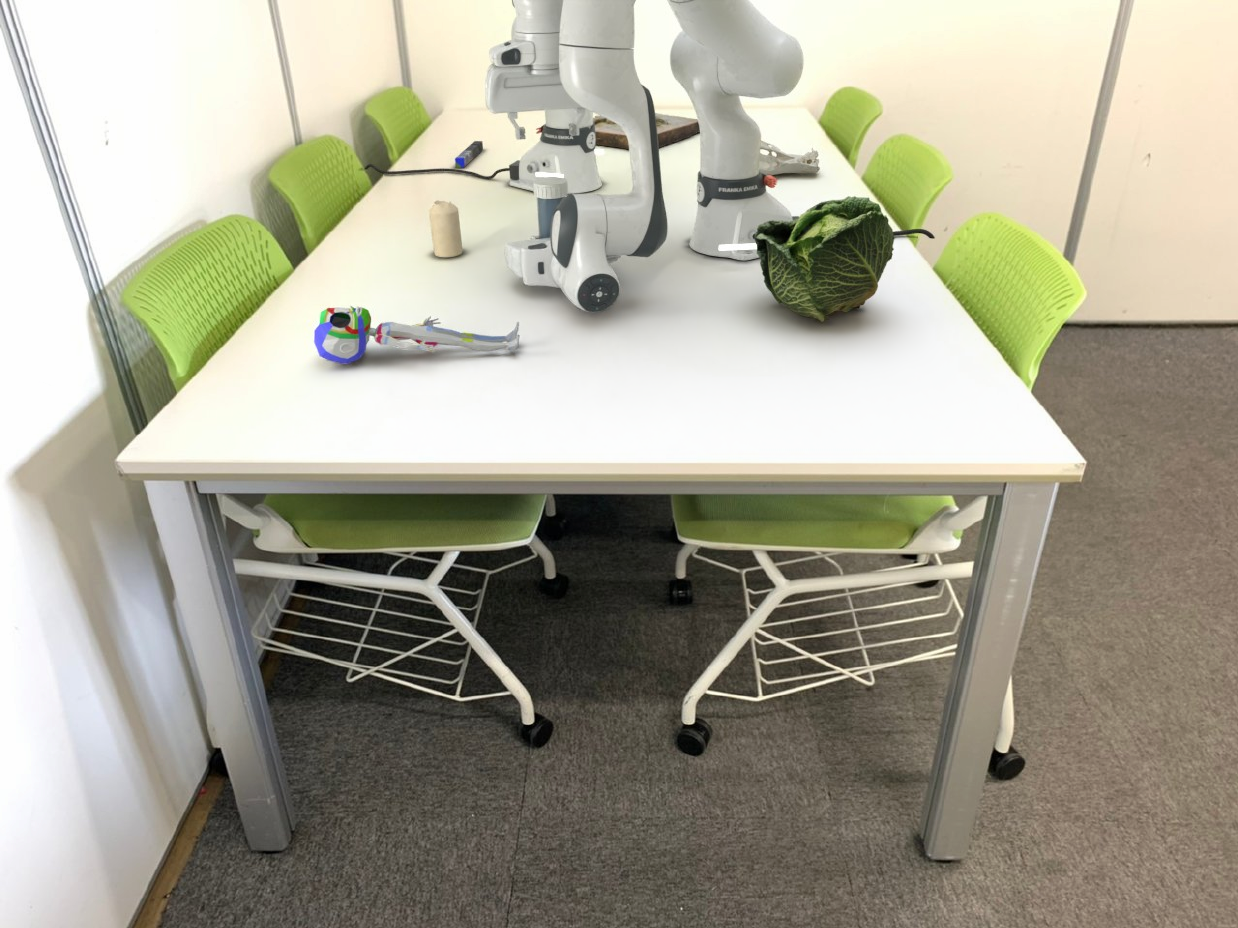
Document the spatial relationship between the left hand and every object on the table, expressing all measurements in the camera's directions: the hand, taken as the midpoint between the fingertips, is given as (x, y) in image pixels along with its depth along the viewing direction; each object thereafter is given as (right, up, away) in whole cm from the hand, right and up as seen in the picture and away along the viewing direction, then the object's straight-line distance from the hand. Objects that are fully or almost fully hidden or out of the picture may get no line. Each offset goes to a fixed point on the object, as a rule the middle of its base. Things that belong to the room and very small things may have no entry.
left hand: (547, 137), depth 155 cm
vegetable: (+46, -31, -7) cm, 56 cm away
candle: (-21, -16, +20) cm, 33 cm away
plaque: (+17, +38, +104) cm, 112 cm away
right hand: (0, -15, +10) cm, 18 cm away
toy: (-18, -40, -19) cm, 48 cm away
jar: (0, -20, +13) cm, 24 cm away
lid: (0, -7, +4) cm, 8 cm away
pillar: (-27, +25, +84) cm, 92 cm away
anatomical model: (+49, +15, +67) cm, 84 cm away
